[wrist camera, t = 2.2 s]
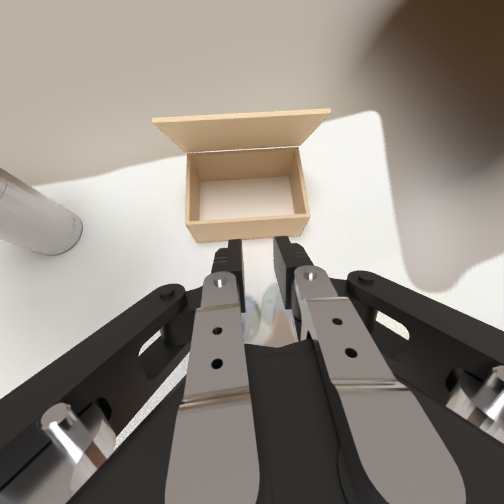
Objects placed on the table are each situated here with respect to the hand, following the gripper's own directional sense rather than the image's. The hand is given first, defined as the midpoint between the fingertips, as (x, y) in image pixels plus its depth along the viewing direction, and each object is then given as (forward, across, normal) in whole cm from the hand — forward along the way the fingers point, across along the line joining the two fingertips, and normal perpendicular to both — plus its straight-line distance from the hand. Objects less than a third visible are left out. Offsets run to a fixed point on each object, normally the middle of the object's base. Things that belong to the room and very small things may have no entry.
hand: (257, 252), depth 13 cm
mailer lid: (+25, 0, -6) cm, 26 cm away
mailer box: (+33, 0, +6) cm, 34 cm away
